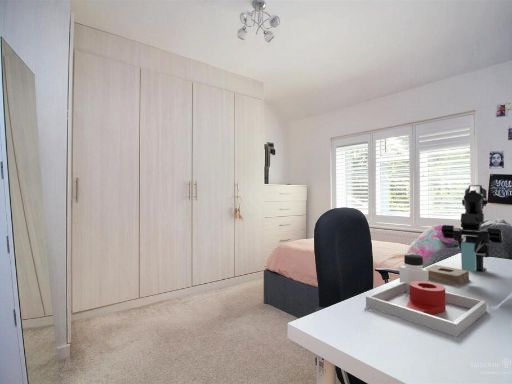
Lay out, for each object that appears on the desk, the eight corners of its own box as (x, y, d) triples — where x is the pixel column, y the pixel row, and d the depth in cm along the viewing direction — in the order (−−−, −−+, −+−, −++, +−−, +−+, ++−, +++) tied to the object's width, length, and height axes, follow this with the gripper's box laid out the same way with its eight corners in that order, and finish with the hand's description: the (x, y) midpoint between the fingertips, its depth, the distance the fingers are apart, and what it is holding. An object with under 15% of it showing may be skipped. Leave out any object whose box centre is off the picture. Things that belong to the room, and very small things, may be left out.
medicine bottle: (429, 290, 102) (428, 257, 102) (408, 290, 102) (408, 256, 102) (418, 284, 109) (417, 252, 109) (399, 284, 110) (399, 252, 110)
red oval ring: (416, 299, 94) (416, 279, 94) (449, 307, 87) (449, 286, 87) (392, 314, 82) (392, 291, 82) (429, 326, 75) (428, 300, 75)
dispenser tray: (403, 289, 103) (403, 281, 103) (486, 311, 84) (486, 301, 84) (365, 306, 88) (365, 296, 88) (456, 336, 69) (456, 324, 69)
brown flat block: (435, 274, 123) (435, 264, 123) (468, 280, 113) (468, 270, 113) (423, 279, 115) (423, 269, 115) (458, 287, 106) (457, 276, 106)
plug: (463, 267, 111) (462, 242, 112) (476, 269, 109) (475, 243, 109) (461, 269, 109) (460, 243, 109) (474, 271, 106) (474, 244, 106)
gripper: (442, 205, 118) (435, 234, 110) (501, 206, 105) (498, 240, 97) (446, 222, 124) (440, 252, 116) (503, 226, 110) (501, 259, 103)
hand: (467, 250), depth 108 cm, fingers closed on plug, 4 cm apart
